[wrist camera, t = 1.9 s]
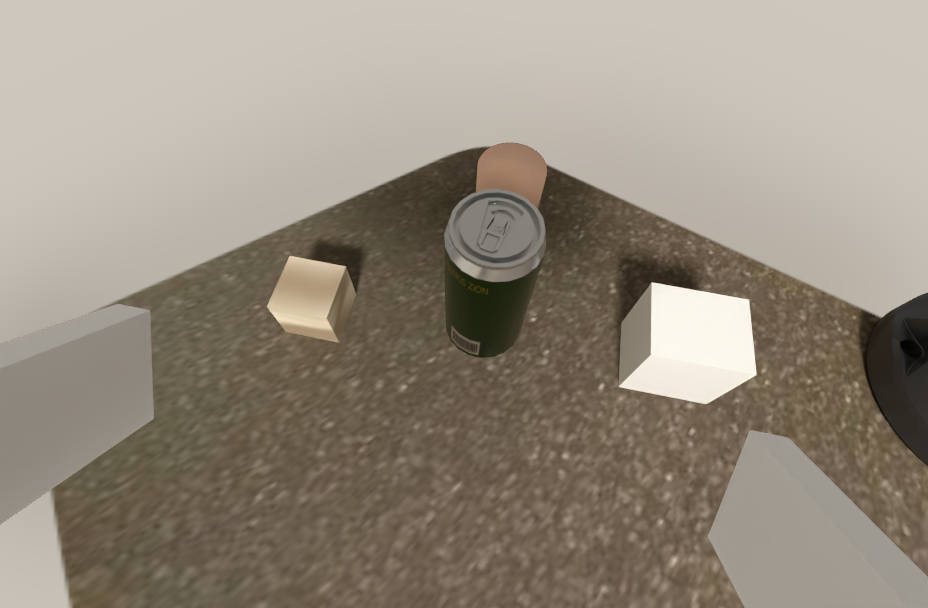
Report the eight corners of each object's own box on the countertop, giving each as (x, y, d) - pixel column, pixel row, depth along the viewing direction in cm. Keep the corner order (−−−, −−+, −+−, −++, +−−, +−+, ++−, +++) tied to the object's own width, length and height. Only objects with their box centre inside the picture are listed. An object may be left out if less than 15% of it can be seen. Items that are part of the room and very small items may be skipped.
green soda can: (503, 373, 33) (529, 287, 22) (433, 344, 34) (426, 248, 23) (529, 310, 35) (563, 205, 25) (462, 285, 36) (468, 173, 25)
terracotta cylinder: (544, 233, 39) (559, 183, 33) (488, 252, 38) (494, 203, 32) (517, 190, 41) (528, 135, 35) (464, 206, 40) (466, 153, 34)
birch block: (339, 342, 34) (326, 318, 30) (286, 332, 34) (267, 306, 30) (356, 294, 35) (345, 266, 32) (305, 285, 36) (289, 255, 32)
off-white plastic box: (705, 404, 32) (756, 375, 27) (618, 387, 33) (650, 354, 27) (703, 338, 35) (748, 299, 29) (620, 323, 35) (651, 282, 30)
